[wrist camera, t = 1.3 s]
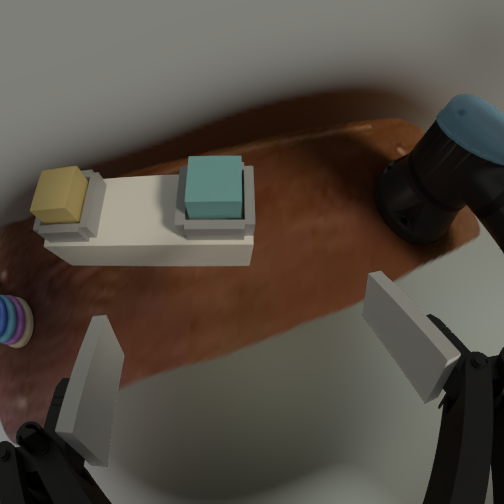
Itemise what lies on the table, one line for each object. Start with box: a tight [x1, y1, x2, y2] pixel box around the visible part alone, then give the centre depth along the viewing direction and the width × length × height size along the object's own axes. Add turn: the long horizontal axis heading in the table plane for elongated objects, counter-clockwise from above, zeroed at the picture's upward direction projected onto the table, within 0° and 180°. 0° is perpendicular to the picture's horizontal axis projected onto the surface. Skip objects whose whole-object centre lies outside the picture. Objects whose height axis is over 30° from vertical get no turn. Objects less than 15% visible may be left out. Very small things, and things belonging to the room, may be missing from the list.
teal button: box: [185, 156, 242, 218], centre depth 29 cm, size 5×5×4 cm
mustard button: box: [30, 166, 88, 224], centre depth 28 cm, size 5×5×4 cm
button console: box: [33, 162, 255, 266], centre depth 35 cm, size 26×9×11 cm, turn 92°
